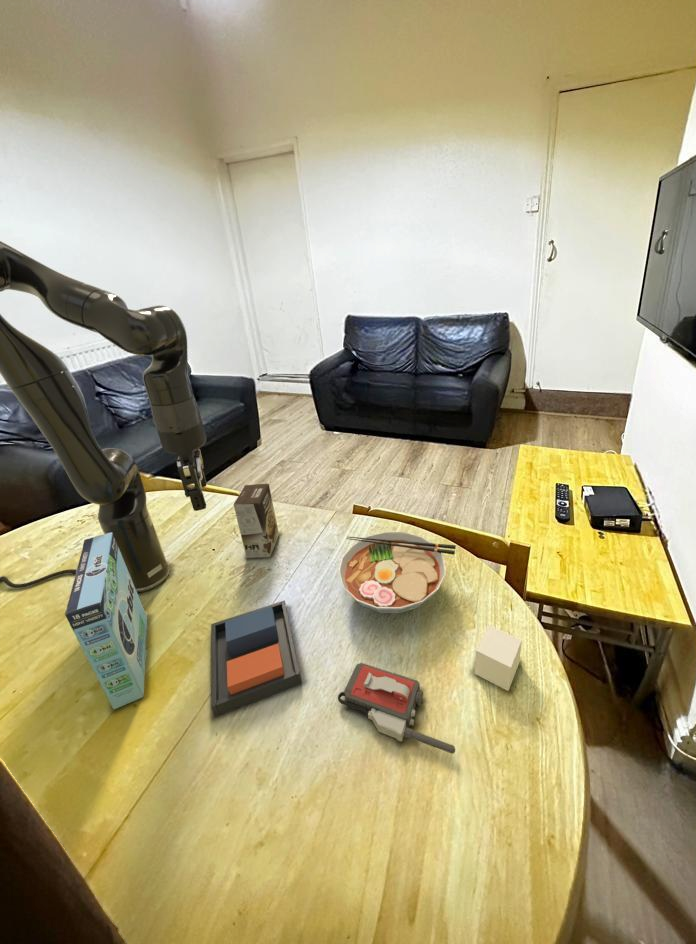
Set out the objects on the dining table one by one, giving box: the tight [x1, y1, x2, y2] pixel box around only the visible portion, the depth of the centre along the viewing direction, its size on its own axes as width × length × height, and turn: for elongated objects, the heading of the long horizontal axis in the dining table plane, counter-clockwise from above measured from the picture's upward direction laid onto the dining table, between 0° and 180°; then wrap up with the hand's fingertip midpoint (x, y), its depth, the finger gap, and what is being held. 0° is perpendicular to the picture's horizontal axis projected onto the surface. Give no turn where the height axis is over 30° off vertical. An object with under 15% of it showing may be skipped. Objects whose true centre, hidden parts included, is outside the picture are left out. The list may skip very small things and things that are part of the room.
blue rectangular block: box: [225, 606, 279, 656], centre depth 80 cm, size 9×5×4 cm, turn 111°
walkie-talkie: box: [337, 662, 456, 754], centre depth 66 cm, size 9×4×20 cm
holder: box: [210, 600, 303, 718], centre depth 77 cm, size 15×18×3 cm
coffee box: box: [233, 483, 280, 559], centre depth 103 cm, size 9×6×16 cm
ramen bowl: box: [337, 531, 457, 614], centre depth 89 cm, size 25×23×8 cm
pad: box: [227, 644, 285, 696], centre depth 72 cm, size 9×5×4 cm, turn 111°
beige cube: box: [474, 624, 523, 692], centre depth 72 cm, size 6×6×6 cm
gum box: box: [64, 532, 148, 711], centre depth 74 cm, size 20×5×23 cm, turn 26°
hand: (200, 497), depth 81 cm, fingers open, 8 cm apart
